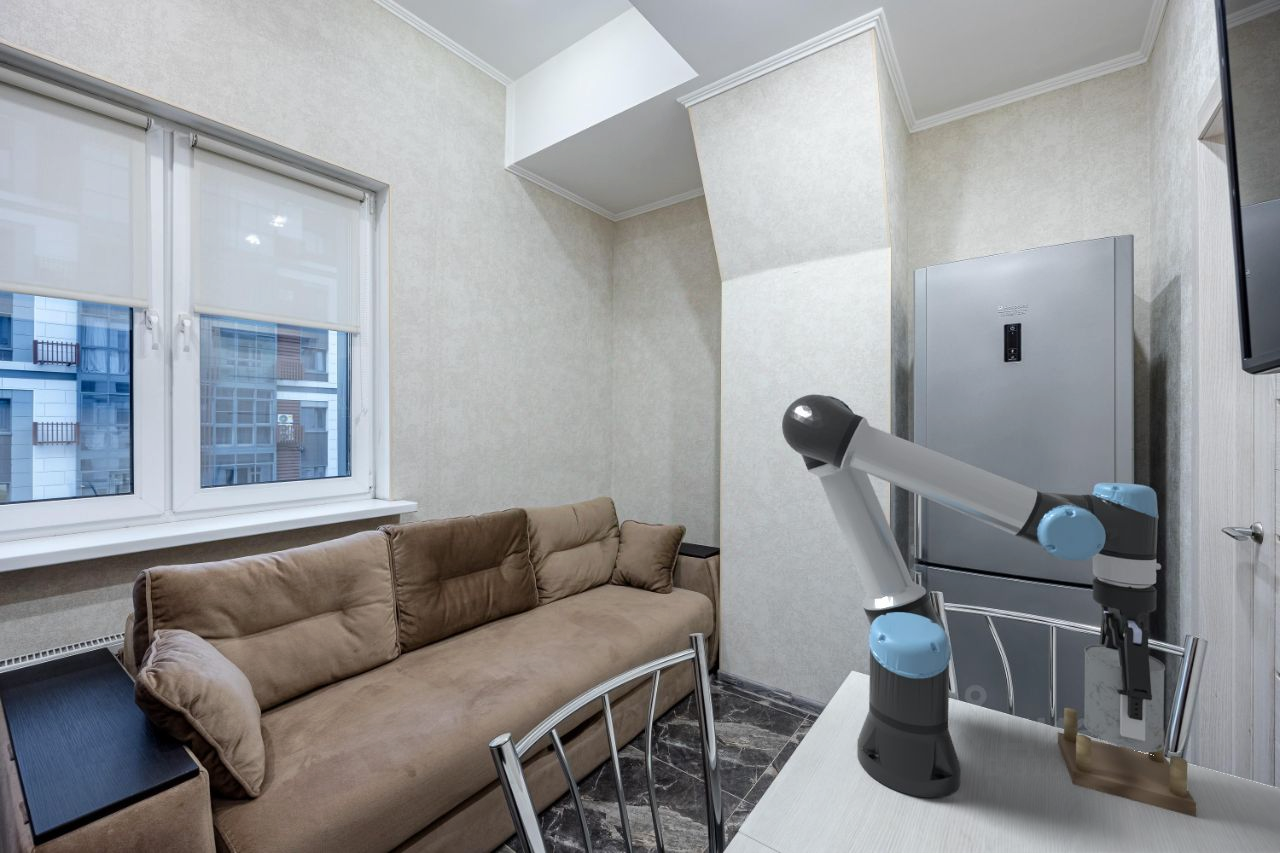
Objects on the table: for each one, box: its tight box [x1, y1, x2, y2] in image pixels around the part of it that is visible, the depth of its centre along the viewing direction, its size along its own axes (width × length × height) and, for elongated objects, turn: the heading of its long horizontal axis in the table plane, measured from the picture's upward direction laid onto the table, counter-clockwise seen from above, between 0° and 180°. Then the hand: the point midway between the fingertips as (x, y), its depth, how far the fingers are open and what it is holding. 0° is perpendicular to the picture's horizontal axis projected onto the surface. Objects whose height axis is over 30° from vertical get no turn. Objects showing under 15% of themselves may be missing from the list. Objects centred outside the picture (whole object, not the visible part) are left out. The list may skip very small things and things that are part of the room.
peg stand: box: [1057, 707, 1197, 818], centre depth 86 cm, size 14×12×7 cm
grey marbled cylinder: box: [1083, 644, 1166, 753], centre depth 85 cm, size 10×10×12 cm
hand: (1122, 720), depth 85 cm, fingers closed on grey marbled cylinder, 9 cm apart
